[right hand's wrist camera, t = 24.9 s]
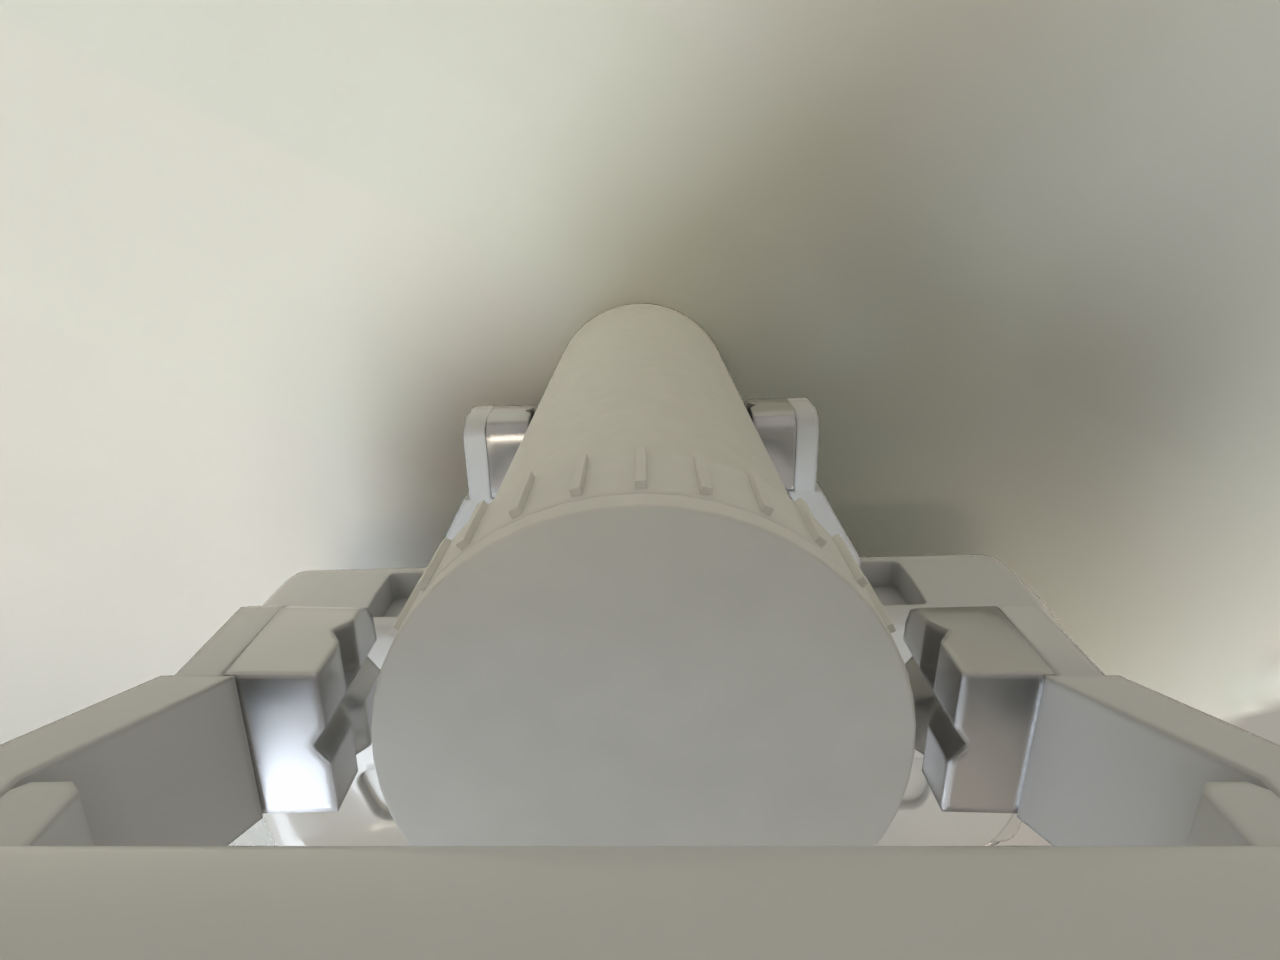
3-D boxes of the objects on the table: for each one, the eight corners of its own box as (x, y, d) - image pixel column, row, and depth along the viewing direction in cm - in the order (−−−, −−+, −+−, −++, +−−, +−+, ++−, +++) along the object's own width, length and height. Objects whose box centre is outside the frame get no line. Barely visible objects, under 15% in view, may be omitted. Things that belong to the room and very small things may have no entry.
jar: (569, 288, 23) (442, 464, 8) (742, 320, 23) (922, 546, 8) (544, 454, 24) (403, 847, 10) (706, 482, 25) (803, 903, 10)
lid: (975, 666, 10) (1037, 755, 8) (644, 917, 11) (645, 1033, 10) (639, 337, 8) (640, 369, 7) (310, 671, 10) (250, 760, 8)
